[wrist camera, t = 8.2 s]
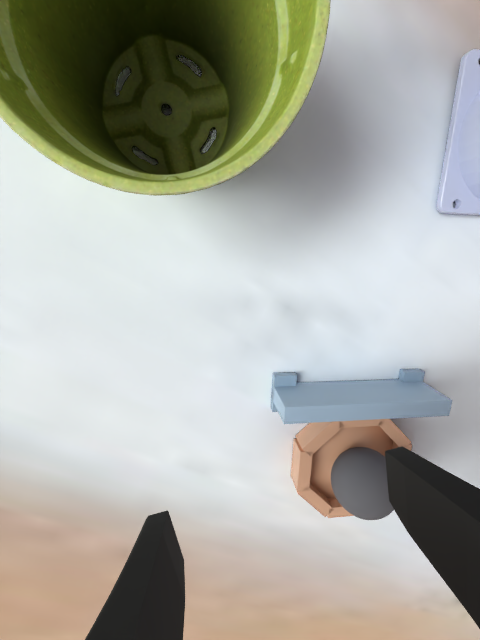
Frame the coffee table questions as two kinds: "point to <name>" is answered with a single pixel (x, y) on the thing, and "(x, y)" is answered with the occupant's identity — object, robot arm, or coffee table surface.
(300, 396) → the blue slab with nubs
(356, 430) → the bowl
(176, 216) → the coffee table surface
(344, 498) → the ball
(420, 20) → the coffee table surface
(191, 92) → the plant pot
